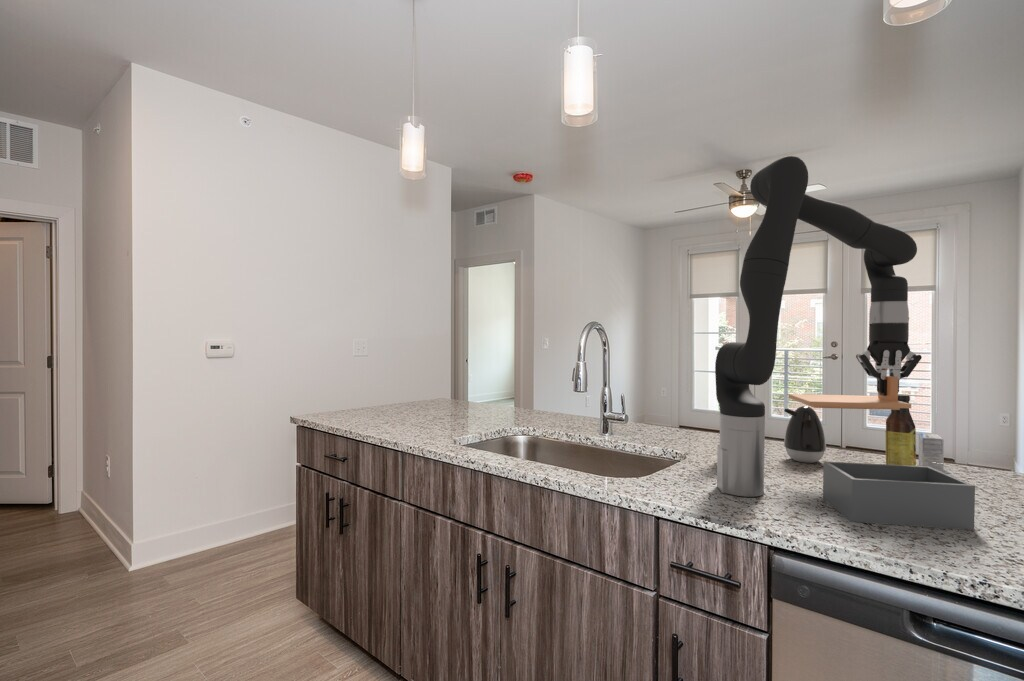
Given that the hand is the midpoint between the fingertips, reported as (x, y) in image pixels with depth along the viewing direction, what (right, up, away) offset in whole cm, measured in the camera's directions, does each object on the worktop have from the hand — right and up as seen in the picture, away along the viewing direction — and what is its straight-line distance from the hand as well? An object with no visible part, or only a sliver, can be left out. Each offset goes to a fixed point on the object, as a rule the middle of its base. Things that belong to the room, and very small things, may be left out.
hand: (887, 395), depth 123 cm
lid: (-9, -2, +2) cm, 9 cm away
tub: (-13, -21, -20) cm, 32 cm away
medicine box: (+22, -21, +15) cm, 34 cm away
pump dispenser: (-7, -21, +23) cm, 32 cm away
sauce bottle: (+11, -21, +11) cm, 26 cm away
